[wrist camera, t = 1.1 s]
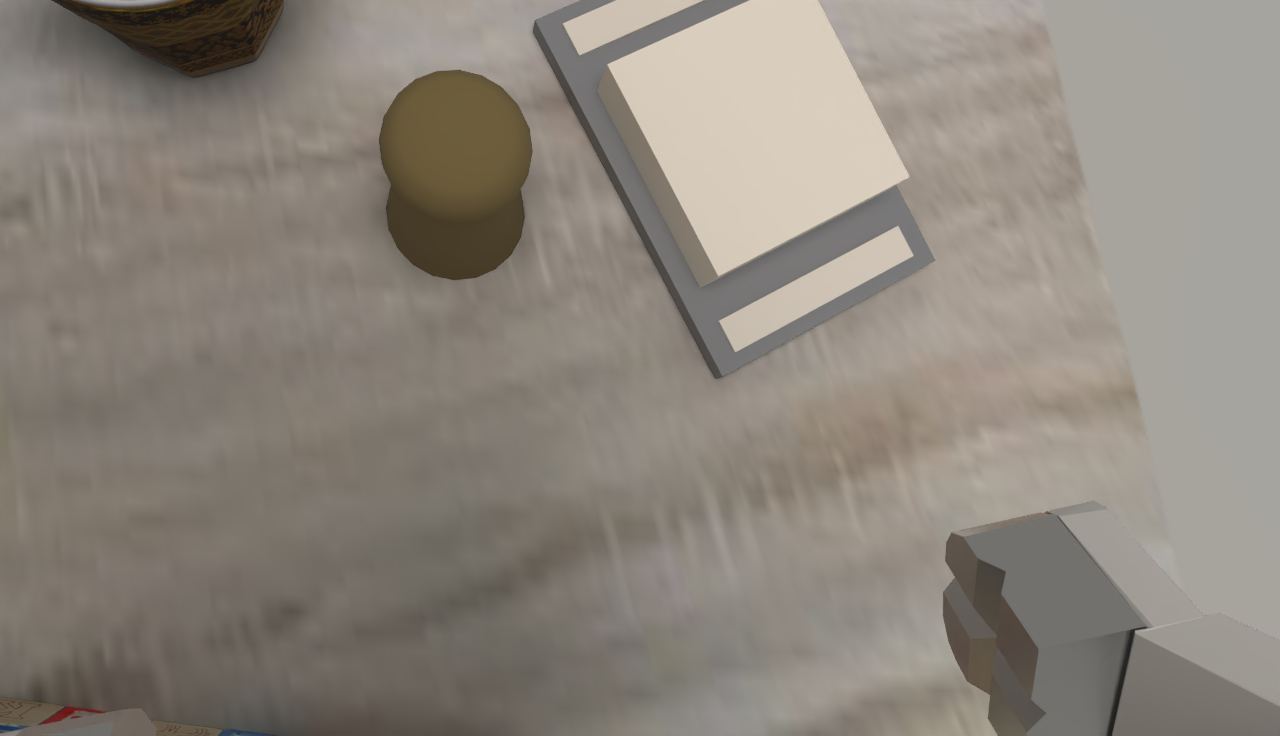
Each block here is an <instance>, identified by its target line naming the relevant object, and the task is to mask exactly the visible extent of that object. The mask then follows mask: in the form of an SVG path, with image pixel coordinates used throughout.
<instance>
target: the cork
mask: <svg viewBox="0 0 1280 736" xmlns="http://www.w3.org/2000/svg"><path fill="white" fill-rule="evenodd" d="M379 144H380V152H381V160H382V165H383V168H384V170H385V172H386V174H387V176H388V178H389V181H390V183H391V188H390V192H389V197H388V202H387V207H386V211H387V219H388V227H389V231H390V233H391V235H392V237H393V239H394V241H395V243H396V246H397V248H398V249H399V250H400V251H401V252H402V254H403V255H404V256H405V257H406V258H407V259H408V260H409V261H410V262H411V263H412V264H413V265H415V266H416V267H418V268H420V269H422V270H424V271H425V272H427V273H429V274H431V275H433V276H438V277H442V278H447V279H452V280H458V279H468V278H476V277H478V276H481V275H483V274H485V273H487V272H490V271H492V270H494V269H496V268H497V267H498V266H499V265H500V264H501V263H503V262H504V261H505V260H506V259H507V258H508V257H509V256H510V255H511V254H512V252H513V250H514V248H515V247H516V245H517V243H518V241H519V240H520V238H521V234H522V228H523V223H524V218H525V216H524V208H523V201H522V195H521V190H520V189H521V187H522V186H523V184H524V182H525V180H526V179H527V176H528V172H529V167H530V162H531V157H532V144H531V136H530V129H529V127H528V125H527V123H526V120H525V118H524V116H523V114H522V112H521V110H520V108H519V106H518V104H517V103H516V102H515V101H514V100H513V99H512V98H511V97H510V96H509V95H508V93H507V92H506V91H505V90H504V89H503V88H502V87H500V86H499V85H497V84H495V83H494V82H492V81H490V80H489V79H487V78H485V77H483V76H481V75H477V74H473V73H469V72H465V71H461V70H452V71H436V72H434V73H431V74H428V75H426V76H423V77H421V78H418V79H415V80H414V81H413V82H412V83H410V84H409V85H408V86H407V87H406V88H404V89H403V90H402V91H401V92H400V93H398V95H397V96H396V98H395V99H394V101H393V103H392V104H391V106H390V108H389V109H388V111H387V112H386V114H385V116H384V118H383V123H382V128H381V132H380V137H379Z"/></svg>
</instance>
